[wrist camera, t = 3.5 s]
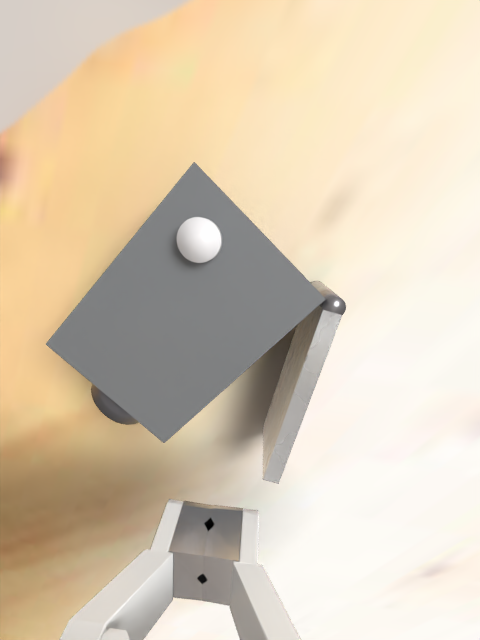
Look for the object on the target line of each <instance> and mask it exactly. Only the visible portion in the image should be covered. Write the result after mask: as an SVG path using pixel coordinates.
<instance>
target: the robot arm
mask: <svg viewBox="0 0 480 640" xmlns="http://www.w3.org/2000/svg"><path fill="white" fill-rule="evenodd" d="M242 513H243V514H242ZM258 534H259V512H258V510H250V509H243V508H237V507H228V506H219V505H207V504H200V503H194V502H188V501H180V500H173V499H169V501H168V502H167V504H166V506H165V509H164V512H163V515H162V517H161V520H160V523H159V526H158V528H157V531H156V534H155V537H154V539H153V542H152V545H151V548H150V549H145V550H144V551H142V552H141V553H140V554H139V555H138V556H137V557H136V558H135V559H134V560H133V561H132V562H131V563H130V564H129V565H127V566H126V567H125V568H124V569H123V570H122V571H121V572H120V573H119V574H118V575H117V576H116V577H115V578H114V579H112V580H111V581H110V582H109V583H108V584H107V585H106V586H105V587H104V588H103V589H102V590H101V591H100V592H99V593H97V594H96V595H95V596H94V597H93V598H92V599H91V600H90V601H89V602H88V603H87V604H86V605H85V606H84V607H83V608H81V609H80V610H79V611H78V612H77V613H76V614H75V615H74V616H73V617H72V618H71V619H70V620H69V622H68V624H67V626H66V628H65V630H64V632H63V634H62V636H61V638H60V640H143V639H144V638H145V637H146V635H147V634H148V633H149V631H150V630H151V629H152V627H153V626H154V625H155V623H156V622H157V620H158V619H159V618H160V616H161V615H162V614H163V612H164V611H165V610H166V608H167V607H168V606H169V604H170V603H171V602H172V600H173V597H175V598H184V599H193V600H202V601H207V602H213V603H218V604H224V605H229V606H230V610H231V613H232V616H233V619H234V623H235V626H236V629H237V632H238V635H239V638H240V640H301V638H300V636H299V634H298V633H297V631H296V629H295V627H294V625H293V623H292V621H291V619H290V617H289V615H288V613H287V611H286V609H285V607H284V605H283V604H282V602H281V600H280V598H279V596H278V594H277V592H276V590H275V588H274V586H273V584H272V582H271V580H270V578H269V576H268V575H267V573H266V571H265V569H264V567H263V565H259V564H258Z"/></svg>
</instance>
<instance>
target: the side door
mask: <svg viewBox="0 0 480 640" xmlns="http://www.w3.org/2000/svg"><path fill="white" fill-rule="evenodd" d="M311 284H312V285H313V286H314V287H315V288H316V289H317V290H318V291H319V292H320V293H321V295H322V296H323V297H324V298H325V300H324V301H323V302H322V303H321V304H320V305H319V306H318V307H316V308H315V309H314V310H313V311H312V312H311V313H310V314H309V315H307V316H306V317H305V318H304V319H303V320H302V321H301V322H300V323H298V324H297V327H296V330H295V333H294V336H293V339H292V342H291V345H290V348H289V351H288V354H287V357H286V360H285V363H284V366H283V369H282V372H281V375H280V378H279V381H278V384H277V387H276V390H275V393H274V396H273V399H272V402H271V405H270V408H269V411H268V414H267V417H266V420H265V423H264V426H263V480H266V481H270V482H274V483H277V484H279V481H280V478H281V476H282V473H283V471H284V468H285V465H286V463H287V460H288V457H289V455H290V452H291V449H292V447H293V444H294V441H295V439H296V436H297V433H298V431H299V428H300V425H301V423H302V420H303V418H304V415H305V412H306V410H307V407H308V404H309V402H310V399H311V396H312V394H313V391H314V388H315V386H316V383H317V380H318V378H319V375H320V373H321V370H322V367H323V365H324V362H325V359H326V357H327V354H328V351H329V349H330V346H331V343H332V341H333V338H334V335H335V333H336V330H337V327H338V325H339V322H340V320H341V317H342V315H343V314H344V312H345V310H346V305H345V302H344V301H343V300H342V299H341V298H340V297H339V296H338V295H336V294H335V293H334V292H333V291H332V290H330V289H329V288H328V287H327V286H325V285H324V284H323V283H322V282H320V281H313V282H312V283H311Z"/></svg>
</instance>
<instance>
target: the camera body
mask: <svg viewBox="0 0 480 640" xmlns="http://www.w3.org/2000/svg"><path fill="white" fill-rule="evenodd" d="M324 300H325V298H324V297H323V296H322V295H321V293H320V292H319V291H318V290H317V289H316V288H315V287H314V286H313V285H312V284H311V283H310V282H309V281H308V280H307V279H306V278H305V277H304V276H303V275H302V274H301V273H300V272H299V271H298V270H297V268H296V267H295V266H294V265H293V264H292V263H291V262H290V261H289V260H288V259H287V258H286V257H285V256H284V255H283V254H282V253H281V252H280V251H279V250H278V249H277V248H276V247H275V246H274V245H273V243H272V242H271V241H270V240H269V239H268V238H267V237H266V236H265V235H264V234H263V233H262V232H261V231H260V230H259V229H258V228H257V227H256V226H255V225H254V224H253V223H252V222H251V221H250V220H249V218H248V217H247V216H246V215H245V214H244V213H243V212H242V211H241V210H240V209H239V208H238V207H237V206H236V205H235V204H234V203H233V202H232V201H231V200H230V199H229V198H228V197H227V196H226V194H225V193H224V192H223V191H222V190H221V189H220V188H219V187H218V186H217V185H216V184H215V183H214V182H213V181H212V180H211V179H210V178H209V177H208V176H207V175H206V174H205V173H204V172H203V171H202V170H201V168H200V167H199V166H198V165H197V164H196V163H195V162H194V163H193V164H192V165H191V166H190V168H189V169H188V170H187V171H186V173H185V174H184V175H183V176H182V178H181V179H180V180H179V181H178V182H177V184H176V185H175V186H174V187H173V189H172V190H171V191H170V192H169V193H168V195H167V196H166V197H165V198H164V200H163V201H162V202H161V203H160V204H159V206H158V207H157V208H156V209H155V211H154V212H153V213H152V214H151V216H150V217H149V218H148V219H147V220H146V222H145V223H144V224H143V225H142V227H141V228H140V229H139V230H138V231H137V233H136V234H135V235H134V236H133V238H132V239H131V240H130V241H129V243H128V244H127V245H126V246H125V247H124V249H123V250H122V251H121V252H120V254H119V255H118V256H117V257H116V258H115V260H114V261H113V262H112V263H111V265H110V266H109V267H108V268H107V269H106V271H105V272H104V273H103V274H102V276H101V277H100V278H99V279H98V281H97V282H96V283H95V284H94V285H93V287H92V288H91V289H90V290H89V292H88V293H87V294H86V295H85V296H84V298H83V299H82V300H81V301H80V303H79V304H78V305H77V306H76V308H75V309H74V310H73V311H72V312H71V314H70V315H69V316H68V317H67V319H66V320H65V321H64V322H63V323H62V325H61V326H60V327H59V328H58V330H57V331H56V332H55V333H54V334H53V336H52V337H51V338H50V339H49V341H48V342H47V343H46V345H47V346H48V347H49V348H51V349H52V350H53V351H54V352H55V353H57V354H58V355H59V356H60V357H61V358H63V359H64V360H65V361H66V362H67V363H69V364H70V365H71V366H72V367H73V368H75V369H76V370H77V371H78V372H79V373H81V374H82V375H83V376H84V377H85V378H87V379H88V380H89V381H90V382H91V383H92V387H91V393H92V397H93V400H94V402H95V404H96V406H97V407H98V408H99V410H100V411H101V412H102V413H103V414H104V415H105V416H107V417H108V418H110V419H111V420H113V421H115V422H118V423H121V424H128V425H129V424H136V423H138V422H139V423H140V424H142V425H143V426H144V427H145V428H146V429H148V430H149V431H150V432H151V433H152V434H154V435H155V436H156V437H157V438H158V439H160V440H161V441H162V442H163V443H165V442H166V441H167V440H168V439H169V438H171V437H172V436H173V435H174V434H175V433H176V432H177V431H178V430H179V429H181V428H182V427H183V426H184V425H185V424H186V423H187V422H188V421H190V420H191V419H192V418H193V417H194V416H195V415H196V414H197V413H199V412H200V411H201V410H202V409H203V408H204V407H205V406H206V405H208V404H209V403H210V402H211V401H212V400H213V399H214V398H215V397H217V396H218V395H219V394H220V393H221V392H222V391H223V390H224V389H226V388H227V387H228V386H229V385H230V384H231V383H232V382H233V381H235V380H236V379H237V378H238V377H239V376H240V375H241V374H242V373H243V372H245V371H246V370H247V369H248V368H249V367H250V366H251V365H252V364H254V363H255V362H256V361H257V360H258V359H259V358H260V357H261V356H263V355H264V354H265V353H266V352H267V351H268V350H269V349H270V348H272V347H273V346H274V345H275V344H276V343H277V342H278V341H279V340H281V339H282V338H283V337H284V336H285V335H286V334H287V333H288V332H290V331H291V330H292V329H293V328H294V327H295V326H296V325H297V324H298V323H300V322H301V321H302V320H303V319H304V318H305V317H306V316H307V315H309V314H310V313H311V312H312V311H313V310H314V309H315V308H316V307H318V306H319V305H320V304H321V303H322V302H323V301H324Z"/></svg>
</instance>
